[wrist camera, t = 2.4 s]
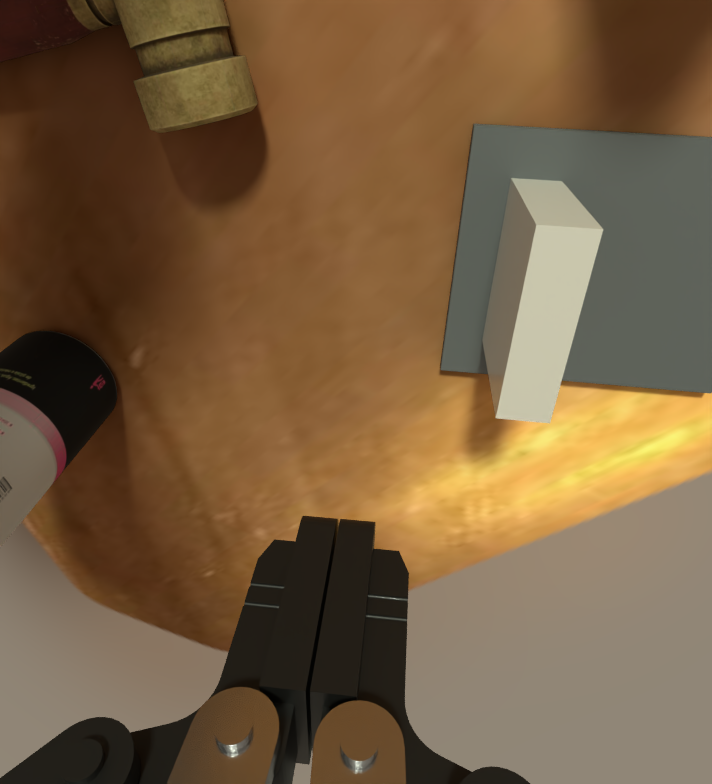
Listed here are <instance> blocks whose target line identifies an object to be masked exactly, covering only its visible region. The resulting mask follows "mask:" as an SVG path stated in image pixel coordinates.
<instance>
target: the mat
mask: <svg viewBox="0 0 712 784" xmlns="http://www.w3.org/2000/svg"><path fill="white" fill-rule="evenodd" d="M511 178H518V179H534V180H551V181H562V182H563V183H564V184H565V185H566V186H567V187H568V189H569V190H570V191H571V192H572V193H573V194H574V196H575V197H576V198H577V199H578V200H579V201H580V203H581V204H582V205H583V206H584V207H585V208H586V210H587V211H588V212H589V213H590V214H591V215H592V217H593V218H594V219H595V220H596V221H597V222H598V224H599V225H600V226H601V227H602V228H603V232H602V236H601V240H600V243H599V247H598V251H597V254H596V258H595V262H594V265H593V269H592V272H591V276H590V280H589V283H588V287H587V291H586V294H585V298H584V301H583V305H582V309H581V312H580V316H579V320H578V323H577V327H576V330H575V334H574V338H573V341H572V345H571V349H570V352H569V356H568V359H567V363H566V367H565V370H564V374H563V378H562V381H573V382H585V383H596V384H608V385H620V386H631V387H643V388H655V389H666V390H678V391H689V392H701V393H712V137H701V136H684V135H666V134H648V133H630V132H612V131H594V130H576V129H559V128H541V127H523V126H505V125H487V124H473V130H472V137H471V145H470V152H469V159H468V167H467V174H466V181H465V189H464V196H463V203H462V211H461V218H460V225H459V233H458V240H457V247H456V255H455V262H454V269H453V277H452V284H451V291H450V299H449V306H448V313H447V321H446V328H445V335H444V343H443V350H442V357H441V370H446V371H457V372H469V373H480V374H488V370H487V365H486V359H485V353H484V347H483V341H482V339H483V333H484V328H485V322H486V316H487V311H488V305H489V299H490V294H491V288H492V283H493V277H494V271H495V266H496V260H497V254H498V249H499V243H500V238H501V232H502V226H503V221H504V215H505V210H506V204H507V198H508V193H509V187H510V181H511Z"/></svg>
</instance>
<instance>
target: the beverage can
mask: <svg viewBox="0 0 712 784" xmlns="http://www.w3.org/2000/svg"><path fill="white" fill-rule="evenodd" d="M116 400H117V387H116V383H115V380H114V377H113V375H112V373H111V371H110V369H109V368H108V366H107V365H106V363H105V362H104V361H103V360H102V358H101V357H100V356H99V355H98V354H97V353H96V352H95V351H93V350H92V349H91V348H90V347H88V346H87V345H86V344H84V343H82V342H81V341H79V340H77V339H75V338H73V337H71V336H68V335H65V334H62V333H58V332H53V331H36V332H31V333H28V334H26V335H23V336H22V337H20V338H19V339H17V340H16V341H15V342H13V343H12V344H11V345H10V346H8V347H7V348H6V349H4V350H3V351H2V352H0V547H1V546H2V545H3V544H4V543H5V541H6V540H7V539H8V537H9V536H10V535H11V534H12V533H13V532H14V530H15V529H16V528H17V527H18V525H19V524H20V523H21V522H22V521H23V519H24V518H25V517H26V516H27V515H28V513H29V512H30V511H31V510H32V508H33V507H34V506H35V505H36V504H37V502H38V501H39V500H40V499H41V497H42V496H43V495H44V494H45V493H46V491H47V490H48V489H49V488H50V486H51V485H52V484H53V483H54V482H55V480H56V479H57V478H58V477H59V476H60V474H61V473H62V472H63V471H64V469H65V468H66V467H67V466H68V465H69V463H70V462H71V461H72V460H73V458H74V457H75V456H76V455H77V454H78V452H79V451H80V450H81V449H82V447H83V446H84V445H85V444H86V443H87V441H88V440H89V439H90V438H91V437H92V435H93V434H94V433H95V432H96V430H97V429H98V428H99V427H100V426H101V424H102V423H103V422H104V421H105V419H106V418H107V417H108V416H109V415H110V413H111V412H112V411H113V409H114V407H115V404H116Z"/></svg>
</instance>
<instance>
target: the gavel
mask: <svg viewBox="0 0 712 784" xmlns="http://www.w3.org/2000/svg"><path fill="white" fill-rule="evenodd" d="M120 24H122V26H123V28H124V31H125V34H126V37H127V40H128V43H129V46H130V48H131V49H135V50H136V53H137V56H138V59H139V62H140V65H141V68H142V71H143V74H144V77H142V78H139V79H137V80H135V81H133V82H134V85H135V88H136V91H137V93H138V96H139V99H140V102H141V105H142V108H143V110H144V113H145V116H146V119H147V122H148V124H149V127H150V130H153V131H155V132H158V133H163V132H170V131H176V130H181V129H186V128H190V127H195V126H199V125H204V124H208V123H212V122H216V121H220V120H224V119H227V118H231V117H234V116H238V115H241V114H244V113H247V112H250V111H252V110H253V109H254V108H255V107H256V105H257V104H258V102H257V98H256V94H255V90H254V86H253V82H252V79H251V75H250V71H249V67H248V63H247V59H246V56H234V55H233V52H232V48H231V44H230V40H229V37H228V33H227V28H228V27H229V26H230V25H229V21H228V17H227V13H226V10H225V6H224V2H223V0H0V62H2V61H6V60H10V59H13V58H17V57H21V56H25V55H29V54H32V53H36V52H40V51H44V50H47V49H51V48H55V47H59V46H62V45H66V44H70V43H73V42H75V41H77V40H79V39H81V38H82V37H84V36H86V35H88V34H90V33H92V32H93V31H95V30H98V29H102V28H105V27H109V26H112V25H120Z"/></svg>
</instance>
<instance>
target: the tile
mask: <svg viewBox="0 0 712 784" xmlns="http://www.w3.org/2000/svg"><path fill="white" fill-rule="evenodd" d="M602 232H603V228H602V227H601V226H600V225H599V224H598V222H597V221H596V220H595V219H594V218H593V217H592V215H591V214H590V213H589V212H588V211H587V210H586V208H585V207H584V206H583V205H582V204H581V203H580V201H579V200H578V199H577V198H576V197H575V196H574V194H573V193H572V192H571V191H570V190H569V189H568V187H567V186H566V185H565V184H564V183H563V182H562V181H551V180H534V179H518V178H511V181H510V187H509V193H508V198H507V204H506V210H505V215H504V221H503V226H502V232H501V238H500V243H499V249H498V254H497V260H496V266H495V271H494V277H493V283H492V288H491V294H490V299H489V305H488V311H487V316H486V322H485V328H484V333H483V339H482V341H483V347H484V353H485V359H486V365H487V370H488V376H489V382H490V388H491V394H492V400H493V406H494V411H495V417H496V418H498V419H509V420H520V421H531V422H542V423H550V421H551V418H552V414H553V410H554V407H555V403H556V399H557V396H558V392H559V389H560V385H561V381H562V378H563V374H564V370H565V367H566V363H567V359H568V356H569V352H570V349H571V345H572V341H573V338H574V334H575V330H576V327H577V323H578V320H579V316H580V312H581V309H582V305H583V301H584V298H585V294H586V291H587V287H588V283H589V280H590V276H591V272H592V269H593V265H594V262H595V258H596V254H597V251H598V247H599V243H600V240H601V236H602Z"/></svg>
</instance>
